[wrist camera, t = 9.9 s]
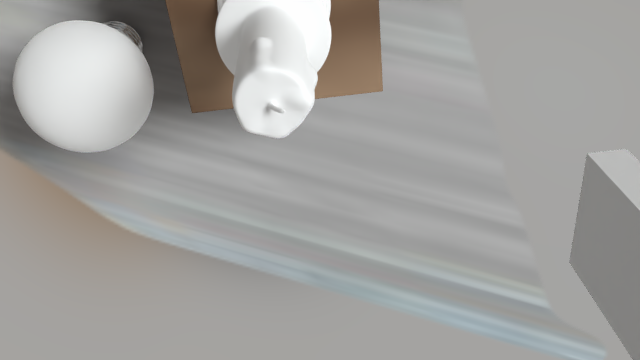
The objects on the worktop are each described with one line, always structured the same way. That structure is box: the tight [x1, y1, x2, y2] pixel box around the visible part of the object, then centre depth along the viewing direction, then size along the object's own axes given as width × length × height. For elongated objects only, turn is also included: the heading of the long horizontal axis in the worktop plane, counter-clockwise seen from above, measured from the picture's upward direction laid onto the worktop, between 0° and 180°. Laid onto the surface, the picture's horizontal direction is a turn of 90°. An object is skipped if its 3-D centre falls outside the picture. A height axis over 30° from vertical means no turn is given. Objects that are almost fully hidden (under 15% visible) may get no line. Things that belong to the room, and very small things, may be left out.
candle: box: [215, 0, 331, 139], centre depth 23 cm, size 5×5×12 cm
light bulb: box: [13, 20, 154, 153], centre depth 32 cm, size 7×7×11 cm
